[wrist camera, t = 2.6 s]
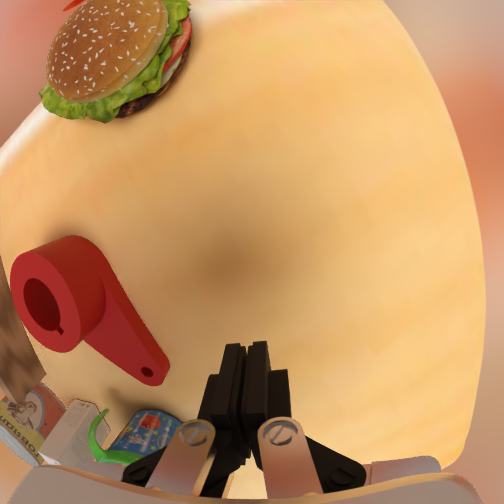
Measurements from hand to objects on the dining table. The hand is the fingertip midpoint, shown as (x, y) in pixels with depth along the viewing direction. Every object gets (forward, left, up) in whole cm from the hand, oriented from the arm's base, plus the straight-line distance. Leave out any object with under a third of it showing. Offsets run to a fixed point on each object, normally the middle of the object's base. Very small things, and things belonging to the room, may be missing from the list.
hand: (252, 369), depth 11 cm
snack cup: (-19, +15, -13) cm, 28 cm away
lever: (-2, +16, -13) cm, 21 cm away
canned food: (-19, +39, -13) cm, 46 cm away
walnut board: (0, +35, -12) cm, 37 cm away
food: (+22, +9, -13) cm, 27 cm away
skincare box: (-19, +27, -13) cm, 36 cm away
